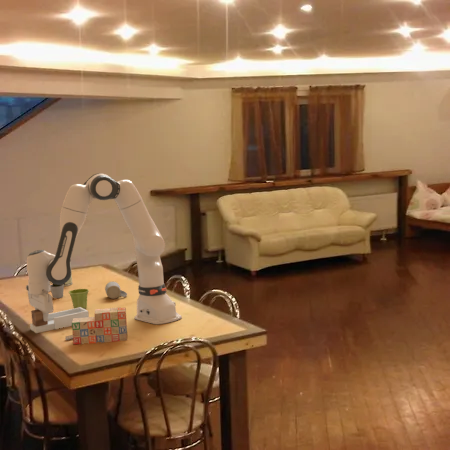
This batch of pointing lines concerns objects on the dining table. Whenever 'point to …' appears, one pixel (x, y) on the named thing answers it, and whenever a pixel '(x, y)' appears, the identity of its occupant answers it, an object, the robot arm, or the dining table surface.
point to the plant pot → (79, 298)
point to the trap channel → (61, 319)
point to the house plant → (57, 290)
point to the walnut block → (38, 318)
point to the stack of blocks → (101, 327)
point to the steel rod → (69, 337)
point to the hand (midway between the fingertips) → (42, 319)
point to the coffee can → (69, 279)
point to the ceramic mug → (114, 290)
